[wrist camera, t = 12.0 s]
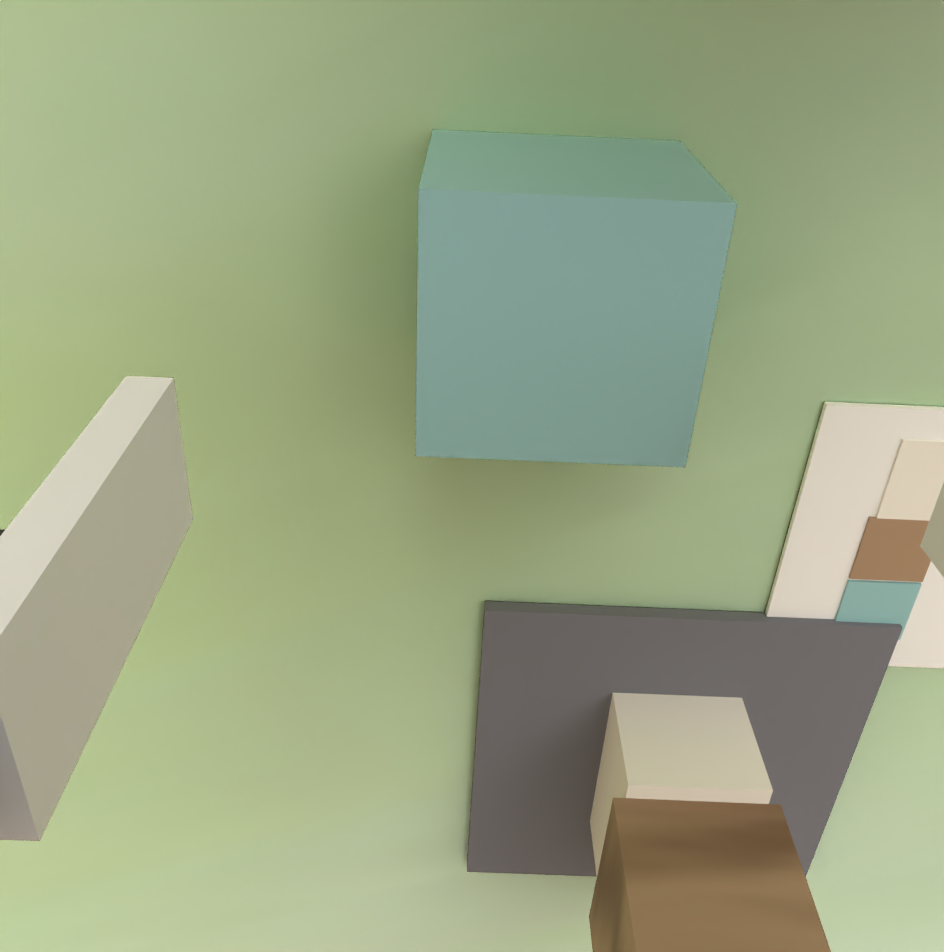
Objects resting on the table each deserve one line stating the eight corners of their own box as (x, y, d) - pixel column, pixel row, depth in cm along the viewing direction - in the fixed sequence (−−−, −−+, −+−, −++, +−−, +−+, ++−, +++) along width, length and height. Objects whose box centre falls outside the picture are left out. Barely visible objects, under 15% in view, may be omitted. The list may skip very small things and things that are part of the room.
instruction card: (824, 401, 26) (828, 406, 26) (1061, 412, 26) (1066, 417, 26) (752, 656, 31) (755, 662, 31) (950, 664, 32) (954, 670, 31)
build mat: (485, 600, 30) (485, 699, 26) (896, 617, 30) (956, 717, 27) (467, 860, 38) (465, 967, 34) (799, 873, 38) (834, 980, 34)
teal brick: (432, 128, 22) (418, 188, 17) (679, 140, 23) (737, 203, 17) (428, 349, 26) (415, 455, 21) (645, 359, 26) (685, 467, 21)
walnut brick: (612, 797, 29) (641, 987, 24) (781, 804, 29) (845, 994, 24) (589, 916, 32) (609, 1105, 27) (739, 922, 32) (788, 1111, 27)
